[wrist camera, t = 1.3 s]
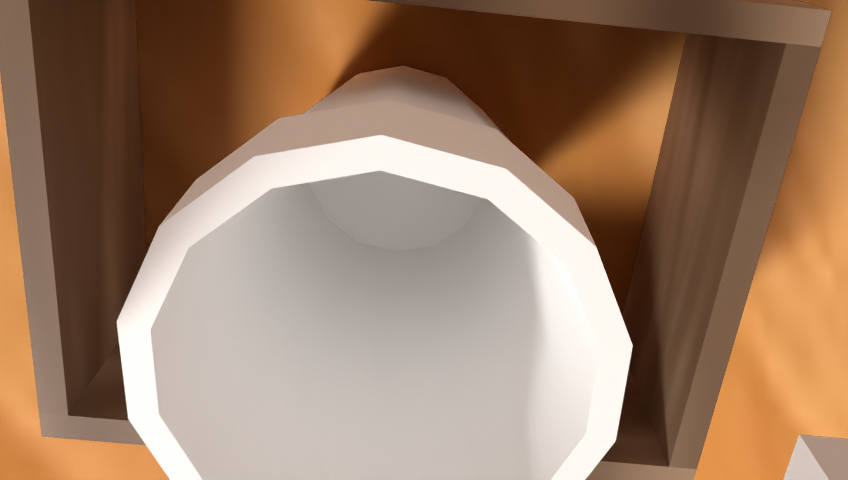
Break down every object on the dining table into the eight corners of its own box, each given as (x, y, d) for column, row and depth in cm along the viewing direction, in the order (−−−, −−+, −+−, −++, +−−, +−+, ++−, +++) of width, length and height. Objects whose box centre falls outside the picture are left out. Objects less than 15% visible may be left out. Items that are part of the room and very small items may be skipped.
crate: (126, 315, 29) (41, 436, 23) (103, -89, 24) (-18, -79, 17) (634, 360, 30) (689, 491, 23) (726, -23, 24) (831, 10, 18)
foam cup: (336, -43, 24) (246, 30, 12) (595, 103, 26) (735, 290, 14) (215, 215, 28) (52, 466, 16) (450, 328, 29) (464, 632, 17)
